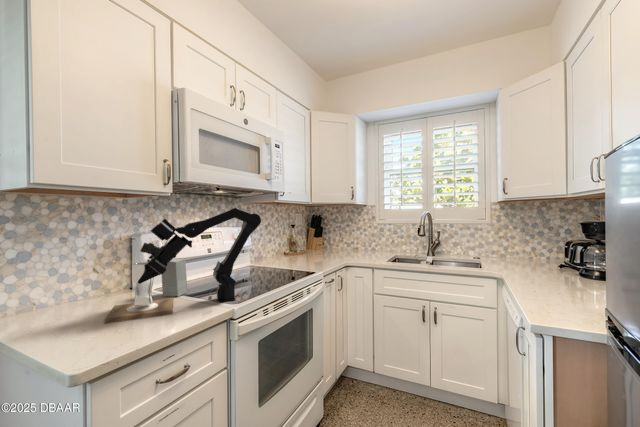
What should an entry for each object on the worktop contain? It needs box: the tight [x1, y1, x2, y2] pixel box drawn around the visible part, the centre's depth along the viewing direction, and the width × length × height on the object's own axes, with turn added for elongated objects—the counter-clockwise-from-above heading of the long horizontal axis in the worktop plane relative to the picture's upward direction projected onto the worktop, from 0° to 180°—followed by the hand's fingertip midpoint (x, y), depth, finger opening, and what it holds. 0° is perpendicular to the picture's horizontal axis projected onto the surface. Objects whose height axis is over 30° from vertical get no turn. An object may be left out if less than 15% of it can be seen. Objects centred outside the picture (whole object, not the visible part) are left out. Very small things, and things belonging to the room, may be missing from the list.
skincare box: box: [161, 258, 188, 297], centre depth 129 cm, size 8×7×16 cm
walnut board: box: [104, 298, 175, 324], centre depth 106 cm, size 20×16×2 cm
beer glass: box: [131, 261, 155, 306], centre depth 107 cm, size 7×7×15 cm
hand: (138, 281), depth 106 cm, fingers closed on beer glass, 7 cm apart
